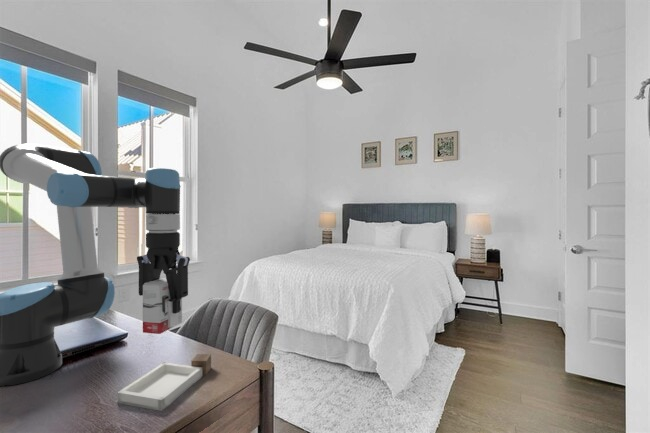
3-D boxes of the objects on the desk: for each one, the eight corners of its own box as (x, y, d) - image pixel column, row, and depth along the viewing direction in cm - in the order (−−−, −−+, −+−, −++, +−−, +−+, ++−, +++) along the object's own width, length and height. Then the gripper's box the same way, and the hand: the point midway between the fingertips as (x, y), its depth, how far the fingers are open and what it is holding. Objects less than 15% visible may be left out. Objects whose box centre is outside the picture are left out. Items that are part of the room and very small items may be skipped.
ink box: (159, 335, 74) (159, 285, 74) (141, 333, 75) (141, 283, 75) (183, 322, 83) (183, 277, 82) (166, 320, 84) (166, 276, 83)
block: (191, 375, 86) (191, 360, 86) (196, 368, 90) (196, 354, 90) (206, 375, 86) (206, 360, 86) (211, 368, 90) (211, 354, 90)
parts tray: (117, 403, 73) (117, 392, 73) (164, 371, 88) (164, 362, 88) (161, 411, 71) (161, 400, 71) (202, 376, 85) (202, 367, 85)
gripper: (120, 231, 77) (120, 326, 77) (184, 233, 73) (184, 333, 73) (144, 229, 84) (144, 316, 85) (204, 231, 80) (204, 322, 80)
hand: (163, 324), depth 79 cm, fingers closed on ink box, 5 cm apart
